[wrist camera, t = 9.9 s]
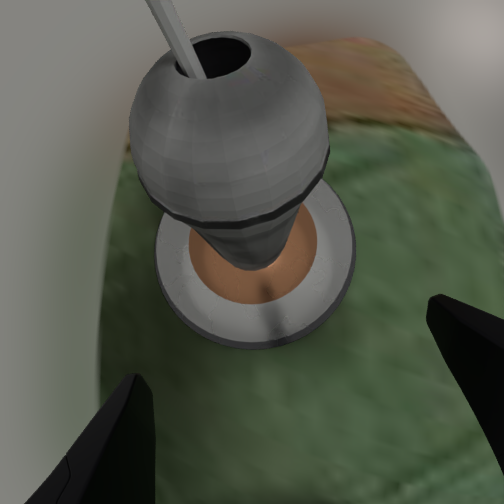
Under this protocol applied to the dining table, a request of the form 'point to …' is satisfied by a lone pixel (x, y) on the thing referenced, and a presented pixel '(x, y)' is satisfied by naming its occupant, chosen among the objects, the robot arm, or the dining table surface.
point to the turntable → (260, 275)
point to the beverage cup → (228, 138)
